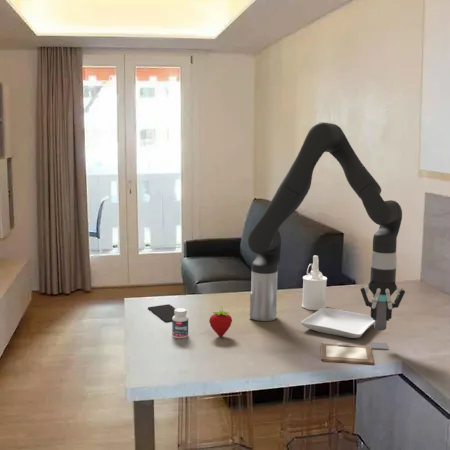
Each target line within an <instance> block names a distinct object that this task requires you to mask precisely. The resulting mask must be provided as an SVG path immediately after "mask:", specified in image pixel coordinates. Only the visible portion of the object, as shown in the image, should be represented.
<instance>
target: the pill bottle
mask: <svg viewBox="0 0 450 450" xmlns="http://www.w3.org/2000/svg"><path fill="white" fill-rule="evenodd" d="M187 313H188V311H187V309H186V308H183V307H179V308H175V310H174V314H175V315H174V316H173V318H172V322H171V332H172V334H171V336H172V337H173V338H175V339H186V338H188V336H189V316H188V315H187Z"/></svg>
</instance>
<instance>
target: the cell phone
mask: <svg viewBox="0 0 450 450" xmlns="http://www.w3.org/2000/svg"><path fill="white" fill-rule="evenodd" d="M175 309H176V308H175V307H174V306H173V305H171V304H160V305H156V306H155V305H154V306H153V305H152V306H148V307H147V310H148V311H150V312H151V313H152V314H153V315H155V316H156V317H158V318H159V320H161V321H163V322H164V323H172V318H173V316H174V315H175V314H174V310H175Z"/></svg>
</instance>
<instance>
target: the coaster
mask: <svg viewBox="0 0 450 450" xmlns="http://www.w3.org/2000/svg"><path fill="white" fill-rule="evenodd" d="M370 349H371V350H383V351H389V347H388V343H387V342H376V341H375V342H374V341H370Z"/></svg>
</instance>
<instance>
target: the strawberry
mask: <svg viewBox="0 0 450 450" xmlns="http://www.w3.org/2000/svg"><path fill="white" fill-rule="evenodd" d="M220 308H221V310H220V309H219V311H217V312H213V314H212V315H211V316H210V317H209V321H208V322H209V324H210V328H211V329H212V330H213V331H214V332H215V333H216V335H218V337H223V336H224V335H225V334H226V333H227V332H228V330H229V329H230V327H231V325H232V322H233V319H232V316H231V315H230V314H229V313H228V312H227V311H224V310H223V307H222V306H220Z"/></svg>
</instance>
